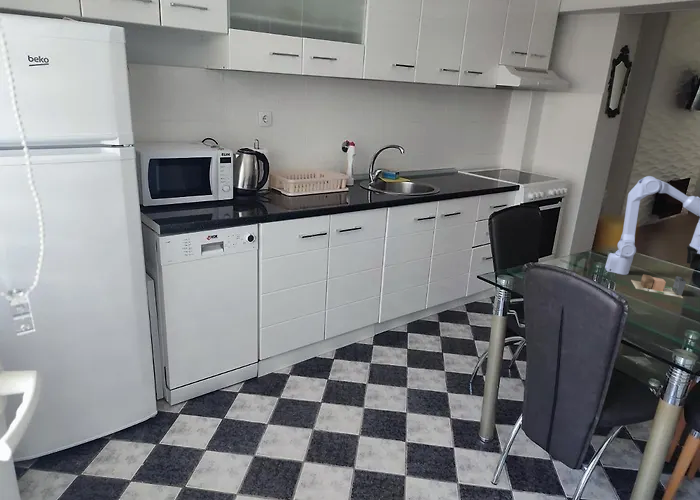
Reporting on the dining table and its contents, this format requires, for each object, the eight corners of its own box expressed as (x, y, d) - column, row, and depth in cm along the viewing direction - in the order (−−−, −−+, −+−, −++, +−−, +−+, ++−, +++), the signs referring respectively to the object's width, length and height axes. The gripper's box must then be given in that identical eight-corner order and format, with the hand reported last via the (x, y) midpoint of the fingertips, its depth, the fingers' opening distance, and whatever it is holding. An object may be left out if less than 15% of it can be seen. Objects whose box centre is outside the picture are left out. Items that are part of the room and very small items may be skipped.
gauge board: (635, 290, 199) (636, 288, 199) (630, 282, 209) (631, 279, 209) (682, 300, 194) (683, 297, 194) (674, 290, 204) (675, 288, 204)
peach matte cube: (651, 289, 200) (654, 280, 199) (649, 285, 204) (652, 277, 203) (662, 291, 199) (665, 282, 198) (660, 288, 203) (663, 279, 202)
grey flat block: (675, 296, 197) (680, 280, 195) (671, 291, 203) (676, 276, 201) (680, 297, 197) (686, 281, 195) (676, 292, 202) (681, 277, 200)
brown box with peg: (643, 288, 200) (646, 279, 198) (640, 283, 205) (643, 274, 204) (651, 289, 199) (654, 280, 198) (648, 284, 204) (651, 275, 203)
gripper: (717, 241, 195) (705, 273, 199) (709, 233, 208) (698, 263, 212) (696, 237, 198) (685, 268, 202) (690, 230, 210) (680, 259, 215)
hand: (691, 265), depth 207 cm, fingers open, 7 cm apart
